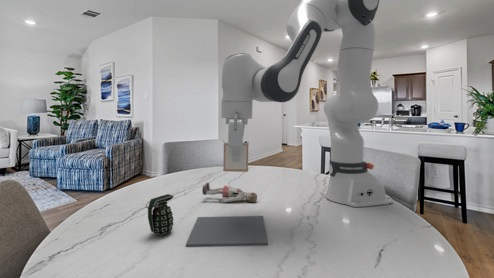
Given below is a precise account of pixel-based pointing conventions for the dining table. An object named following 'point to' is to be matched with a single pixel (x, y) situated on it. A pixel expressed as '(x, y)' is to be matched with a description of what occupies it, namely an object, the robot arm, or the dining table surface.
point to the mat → (228, 231)
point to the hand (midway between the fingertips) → (236, 160)
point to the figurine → (229, 193)
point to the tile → (236, 166)
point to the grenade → (160, 215)
